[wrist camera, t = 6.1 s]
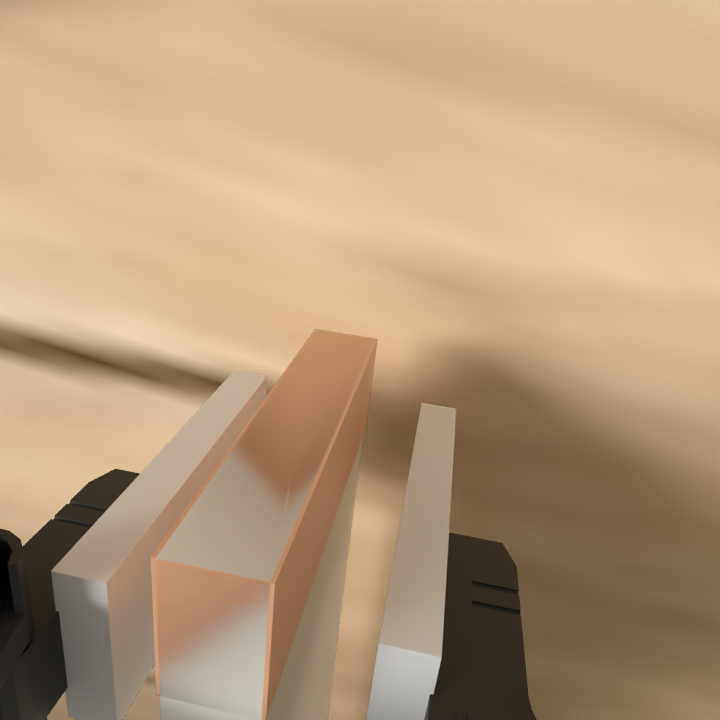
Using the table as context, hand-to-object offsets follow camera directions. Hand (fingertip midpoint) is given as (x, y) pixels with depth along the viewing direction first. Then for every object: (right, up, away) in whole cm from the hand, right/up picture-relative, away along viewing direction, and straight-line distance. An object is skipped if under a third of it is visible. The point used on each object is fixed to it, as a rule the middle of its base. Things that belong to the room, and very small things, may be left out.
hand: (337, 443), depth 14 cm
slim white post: (-1, -6, +2) cm, 6 cm away
